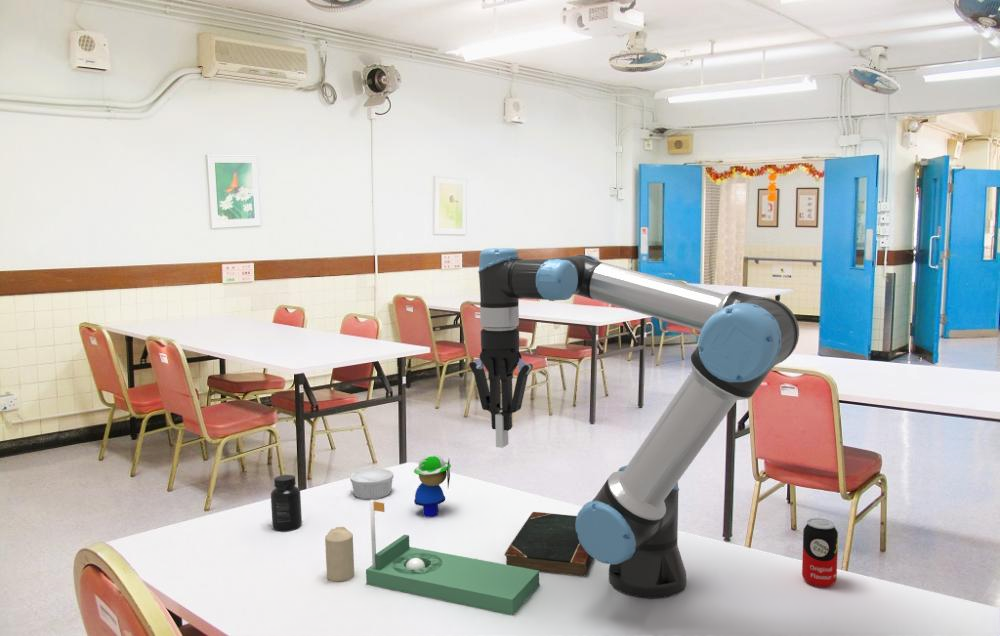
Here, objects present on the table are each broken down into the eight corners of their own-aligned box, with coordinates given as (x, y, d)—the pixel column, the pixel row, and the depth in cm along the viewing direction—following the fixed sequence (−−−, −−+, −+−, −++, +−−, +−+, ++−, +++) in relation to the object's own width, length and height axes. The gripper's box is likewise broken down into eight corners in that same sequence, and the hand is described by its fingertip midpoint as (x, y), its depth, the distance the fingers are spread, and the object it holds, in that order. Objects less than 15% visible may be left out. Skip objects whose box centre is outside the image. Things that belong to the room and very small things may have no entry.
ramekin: (345, 500, 208) (344, 480, 207) (359, 486, 219) (358, 467, 218) (386, 502, 206) (385, 482, 206) (399, 487, 217) (398, 469, 216)
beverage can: (794, 578, 159) (796, 520, 158) (819, 572, 162) (821, 515, 160) (818, 591, 153) (821, 531, 152) (843, 585, 156) (845, 526, 154)
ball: (418, 550, 164) (408, 563, 165) (408, 558, 160) (398, 571, 162) (432, 564, 163) (422, 577, 164) (422, 572, 159) (412, 585, 161)
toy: (450, 519, 193) (449, 459, 191) (412, 519, 194) (410, 459, 192) (453, 506, 202) (451, 448, 200) (416, 506, 202) (415, 449, 200)
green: (539, 585, 158) (538, 502, 156) (512, 615, 146) (510, 525, 144) (401, 558, 172) (398, 481, 169) (366, 583, 160) (363, 502, 158)
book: (532, 525, 190) (503, 570, 166) (532, 511, 190) (503, 553, 166) (605, 532, 185) (586, 579, 161) (605, 517, 185) (586, 562, 161)
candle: (348, 583, 161) (346, 535, 159) (322, 580, 162) (320, 533, 160) (358, 571, 166) (356, 524, 165) (333, 569, 167) (331, 523, 166)
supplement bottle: (308, 524, 192) (305, 475, 190) (286, 534, 186) (283, 484, 185) (288, 518, 196) (285, 471, 194) (266, 528, 190) (263, 479, 188)
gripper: (538, 326, 156) (539, 443, 159) (478, 324, 162) (481, 437, 165) (523, 331, 150) (525, 454, 153) (461, 329, 155) (464, 447, 158)
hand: (502, 445), depth 159 cm, fingers closed
